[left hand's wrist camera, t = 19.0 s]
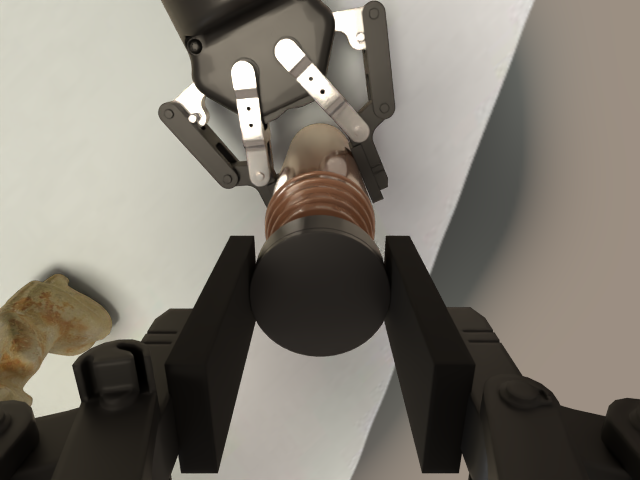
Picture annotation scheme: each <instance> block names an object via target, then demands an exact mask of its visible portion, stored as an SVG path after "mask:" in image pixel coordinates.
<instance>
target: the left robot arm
mask: <svg viewBox="0 0 640 480" xmlns="http://www.w3.org/2000/svg"><path fill="white" fill-rule="evenodd" d="M255 265H256V259H255V242H254V236H230V238H229V240H228V242H227V244H226V246H225V248H224V250H223V251H222V253H221V255H220V257H219V259H218V261H217V263H216V265H215V267H214V269H213V271H212V273H211V275H210V277H209V279H208V281H207V282H206V284H205V286H204V288H203V290H202V292H201V294H200V296H199V298H198V300H197V302H196V304H195V306H194V308H193V309H169V310H167V311H166V312H165V313H163V314H162V315H160V316H159V317H158V318H156V319H155V320H154V322H153V323H152V325H151V327H150V328H149V330H148V331H147V334H145V336H144V337H143V339H142V341H141V342H140V341H136V340H115V341H111V342H106V343H103V344H100V345H98V346H96V347H93V348H91V349H89V350H88V351H86V352H85V353H83V354H82V355H81V356H79V357H78V359H77V360H76V361H75V362H74V364H73V365H72V367H73V371H74V375H75V379H76V383H77V387H78V391H79V395H80V399H81V405H80V407H79V408H76V409H72V410H69V411H65V412H61V413H56V414H51V415H47V416H42V417H38V418H35V417H34V414H33V411H32V408H31V407H30V406H29V405H28V404H27V403H26V402H22V401H17V400H8V401H0V480H172V478H171V473H172V470H173V467H174V465H175V462H176V459H177V456H179V462H180V469H181V473H218V471H219V467H220V462H221V458H222V454H223V450H224V446H225V442H226V438H227V434H228V430H229V426H230V422H231V418H232V414H233V410H234V406H235V402H236V398H237V394H238V390H239V386H240V382H241V378H242V374H243V370H244V366H245V362H246V358H247V354H248V350H249V346H250V342H251V338H252V334H253V330H254V326H255V322H256V320H255V318H254V315H253V313H252V310H251V306H250V299H249V288H250V282H251V278H252V274H253V271H254V268H255ZM384 265H385V268H386V271H387V274H388V278H389V282H390V288H391V299H390V306H389V310H388V313H387V315H386V318H385V320H384V322H385V326H386V330H387V334H388V338H389V342H390V346H391V350H392V354H393V358H394V362H395V366H396V370H397V374H398V378H399V382H400V386H401V390H402V394H403V398H404V402H405V406H406V410H407V414H408V418H409V422H410V426H411V430H412V434H413V438H414V442H415V446H416V450H417V454H418V458H419V463H420V466H421V471H422V473H459V469H460V462H461V456H462V454H463V457H464V460H465V462H466V465H467V468H468V471H469V478H468V480H640V399H632V398H624V399H619V400H615V401H614V402H613V403H612V404H611V405H609V407H608V411H607V414H606V416H601V415H597V414H592V413H588V412H583V411H579V410H574V409H571V408H567V407H564V406H561V405H560V404H559V402H558V400H557V399H556V397H555V396H554V394H553V393H552V392H551V391H550V390H549V389H547V388H546V387H545V386H544V385H542V384H541V383H539V382H537V381H534V380H532V379H530V378H528V377H524V376H522V374H521V373H520V371H519V370H518V368H517V367H516V365H515V363H514V362H513V360H512V359H511V357H510V356H509V354H508V353H507V351H506V350H505V348H504V346H503V345H502V343H500V342H499V339H498V337H497V336H496V334H495V333H494V332H493V329H492V328H491V326H490V325H489V323H488V322H487V320H486V319H485V317H483V316H482V315H480V314H479V313H478V312H476V311H475V310H473V309H472V308H471V307H446V306H445V304H444V302H443V300H442V298H441V296H440V294H439V292H438V290H437V288H436V286H435V284H434V283H433V281H432V279H431V277H430V275H429V273H428V271H427V269H426V267H425V265H424V263H423V261H422V259H421V257H420V255H419V253H418V252H417V250H416V248H415V246H414V244H413V242H412V240H411V238H410V236H386V242H385V259H384Z"/></svg>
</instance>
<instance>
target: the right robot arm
mask: <svg viewBox="0 0 640 480" xmlns="http://www.w3.org/2000/svg"><path fill="white" fill-rule="evenodd" d="M161 1H162V3H163V5H164V7H165V9H166V11H167V13H168V15H169V17H170V19H171V20H172V22H173V24H174V26H175V28H176V30H177V32H178V34H179V36H180V38H181V40H182V42H183V44H184V46H185V48H186V49H187V51H188V54H189V56H190V60H191V65H192V79H193V83H192V84H191V85H190V86H189V87H188V88H186V89H185V90H184V91H183V92H182V93H181V94H180V95H179V96H178V97H177V98H176V99H175V100H174V101H171V102H167V103H164V104H162V105H161V106H160V108H159V111H158V114H159V117H160V119H161V120H162V122H163V123H164V124H165V125H166V126H167V127H168V128H169V129H170V130H171V131H172V133H173V134H174V135H175V136H176V137H177V138H178V139H179V140H180V141H181V142H182V144H183V145H184V146H185V147H186V148H187V149H188V150H189V151H190V152H191V153H192V155H193V156H194V157H195V158H196V159H197V160H198V161H199V162H200V163H201V164H202V166H203V167H204V168H205V169H206V170H207V171H208V172H209V173H210V174H211V175H212V177H213V178H214V179H215V180H216V181H217V182H218V183H219V184H220V185H221V186H222V187H223V188H226V189H231V188H233V187H235V186H245V185H248V186H252V187H254V188H256V189H257V190H258V192H259V193H260V195H261V197H262V199H263V201H264V203H265V205H266V207H268V204H269V201H270V199H271V196H272V193H273V190H274V188H275V185H276V182H277V179H278V177H279V174H280V173H279V174H276V172H275V170H274V164H273V156H272V148H271V133H270V125H269V122H271V121H273V120H275V119H277V118H278V117H279V116H281V115H282V114H283V113H284V112H285V111H286V110H288V109H291V108H297V107H303V106H305V105H307V104H309V103H311V102H313V101H316V102H317V103H318V104H319V105H320V106H321V107H322V108H323V110H324V111H325V112H326V113H327V114H328V115H329V116H330V117H331V118H332V119H333V120H334V121H335V122H336V123H337V124H338V125H339V126H340V128H341V129H342V130H343V131H344V132H345V133H346V134H347V135H348V137H349V139H350V142H349V143H348V144H349V147H350V150H351V152H352V155H353V157H354V159H355V161H356V164H357V166H358V169H359V171H360V174H361V176H362V178H363V181H364V183H365V185H366V188H367V190H368V192H369V195H370V197H371V200H372V202H373V203H375V202H377V201H379V200H382V199H383V196H382V194H381V191H380V190H382V189H384V188H386V187H388V178H387V175H386V173H385V170H384V168H383V165H382V163H381V160H380V158H379V155H378V153H377V150H376V148H375V145H374V143H373V139H372V136H373V132H374V130H375V129H376V127H377V126H378V125H379V124H380V123H382V122H383V121H384V120H385V119H387V118H389V117H391V116H392V115H393V113H394V111H395V100H394V91H393V81H392V71H391V61H390V52H389V42H388V32H387V22H386V13H385V8H384V6H383V5H382V4H381V3H380V2H378V1H370V2H368V3H367V4H366V5H365V6H363V7H359V8H353V9H348V10H343V11H338V12H332V11H331V10H330V9H329V8H328V7H327V6H326V5H325V4H324V3H323V2H321V1H320V0H161ZM335 32H341V33H343V34H344V35H345V36H346V37H347V40H348V43H349V45H350V47H351V48H353V49H355V50H362V52H363V60H364V68H365V76H366V84H367V92H368V102H367V103H366V104H365V105H364V106H363V107H362V108H361V109H360V110H359V111H358V112H356V111H355V110H354V108H353V107H352V106H351V105H350V104H349V103H348V102H347V100H346V99H345V98H344V97H343V96H342V95H341V94H340V92H339V91H338V90H337V89H336V88H335V87H334V86H333V84H332V83H331V82H330V81H329V80H328V79H327V78H326V74H327V69H328V64H329V59H330V54H331V49H332V44H333V39H334V34H335ZM323 89H324V90H323ZM322 90H323V91H322ZM206 96H207V97H208V98H210V99H212V100H214V101H215V102H217V103H219V104H221V105H222V106H224V107H226V108H228V109H229V110H231V111H233V112H235V113H236V114H238V115H239V120H240V127H241V134H242V140H243V145H244V148H245V150H246V156H247V161H239V160H238V159H237V158H236V157H235V155H234V154H233V153H232V152H231V151H230V150H229V149H228V147H227V146H226V145H225V144H224V143H223V142H222V141H221V140H220V138H219V137H218V136H217V135H216V134H215V133H214V132H213V130H212V129H211V128H210V127H209V126H208V125H207V123H208V121H209V118H210V115H209V112H208V110H207V108H206V106H205V98H206Z"/></svg>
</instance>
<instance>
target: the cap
mask: <svg viewBox="0 0 640 480" xmlns="http://www.w3.org/2000/svg"><path fill="white" fill-rule="evenodd" d="M249 299H250V306H251V310H252V313H253V315H254V318H255V320H256V321H257V323H258V325H259V326H260V328H261V329H262V330H263V332H264V333H265V334H266V335H267V336H268V337H269V338H270V339H272V340H273V341H274V342H275V343H277V344H278V345H280V346H282V347H283V348H285V349H288V350H290V351H292V352H295V353H298V354H302V355H307V356H316V357H319V356H333V355H338V354H342V353H345V352H348V351H351V350H353V349H355V348H357V347H359V346H360V345H362V344H363V343H365V342H366V341H367V340H368V339H370V338H371V337H372V336H373V335H374V334H375V333H376V332H377V331H378V329H379V328H380V326H381V325H382V323H383V321H384V320H385V318H386V315H387V313H388V310H389V306H390V299H391V288H390V282H389V278H388V274H387V271H386V268H385V265H384V262H383V259H382V256H381V253H380V251H379V249H378V247H377V245H376V244H375V242H374V241H373V240H372V238H371V237H370V236H369V235H368V234H367V233H366V232H365V231H364V230H363V229H361V228H360V227H358V226H357V225H355V224H353V223H351V222H350V221H347V220H345V219H342V218H338V217H334V216H327V215H312V216H306V217H302V218H298V219H295V220H293V221H291V222H288V223H287V224H285V225H283V226H282V227H280V228H279V229H278V230H276V231H275V232H274V233H273V234H272V235H271V236H270V237H269V238H268V240H267V241H266V242H265V244H264V245H263V247H262V249H261V251H260V253H259V256H258V259H257V262H256V265H255V268H254V271H253V274H252V278H251V282H250V288H249Z"/></svg>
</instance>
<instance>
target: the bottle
mask: <svg viewBox="0 0 640 480" xmlns="http://www.w3.org/2000/svg"><path fill="white" fill-rule="evenodd" d="M348 143H349V142H348V140H347V138H346V136H345V135H344V134H343V133H342V132H341V131H340V130H339V129H337V128H336V127H334V126H331V125H328V124H322V123H318V124H311V125H309V126H306V127H304V128H303V129H301V130H300V131H299V132H298V133H297V134H296V135H295V136H294V138H293V139H292V141H291V144H290V146H289V149H288V152H287V155H286V157H285V160H284V163H283V166H282V168H281V171H280V174H279V177H278V179H277V182H276V185H275V188H274V190H273V193H272V196H271V199H270V201H269V204H268V207H267V211H266V216H265V236H266V241H267V240H268V238H269V237H270V236H271V235H272V234H273V233H274V232H275V231H276V230H278V229H279V228H280V227H282V226H283V225H285V224H287V223H288V222H291V221H293V220H295V219H298V218H302V217H306V216H312V215H327V216H334V217H338V218H342V219H345V220H347V221H350V222H351V223H353V224H355V225H357V226H358V227H360V228H361V229H363V230H364V231H365V232H366V233H367V234H368V235H369V236H370V237H371V238H372V240H373V241H374V235H375V216H374V211H373V207H372V204H371V202H370V199H369V196H368V193H367V191H366V188H365V185H364V182H363V180H362V177H361V174H360V171H359V169H358V166H357V164H356V161H355V159H354V157H353V155H352V152H351V150H350V147H349V144H348Z"/></svg>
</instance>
